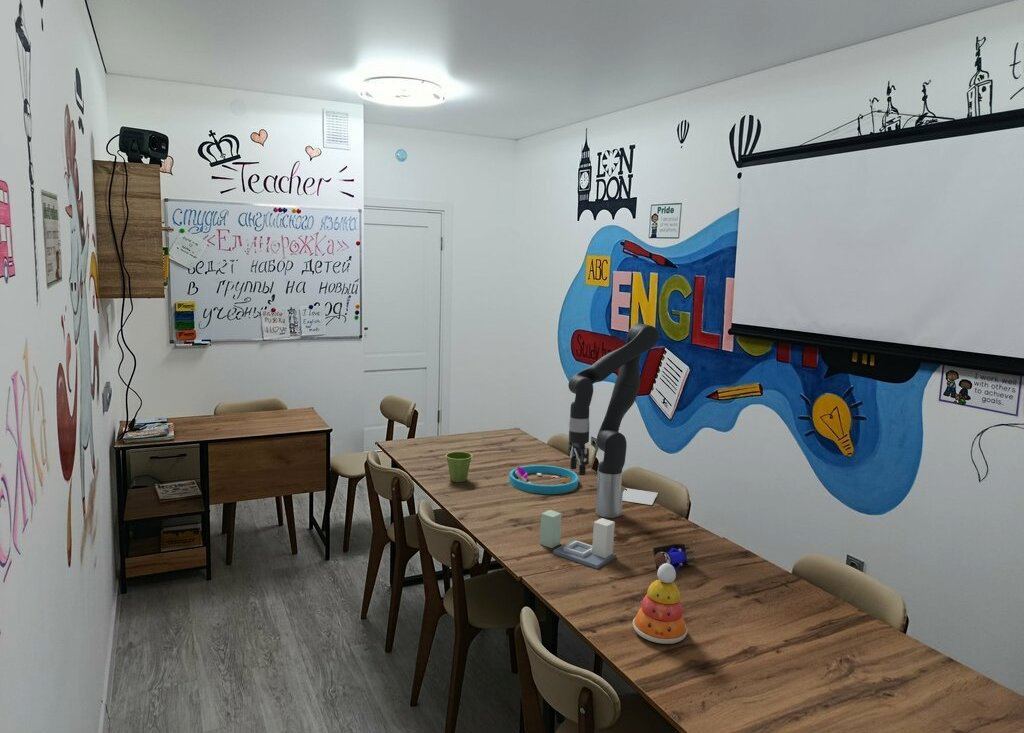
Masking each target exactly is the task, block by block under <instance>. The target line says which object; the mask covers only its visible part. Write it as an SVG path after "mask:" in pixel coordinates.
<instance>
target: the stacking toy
mask: <svg viewBox="0 0 1024 733" xmlns="http://www.w3.org/2000/svg"><path fill="white" fill-rule="evenodd" d="M674 567H675V566H674ZM674 567H673V566H672V565H670V564H668V563H665V564H663V565H661V566H660V567H659V569H657V573H656V574H657V578H658V579H655V580H654V581H653V582H651V583H650V585H649V587H648V588H647V591H646V594H645V596H644V597H643V599H642V600H641V605H640V608H639V609H638V611H637V613H636V616H635V617H634V618H633V620H632V627H633V629H634V631H635V632H636V633H637V634H638V635H639V636H640V637H641V638H643V639H645V640H647V641H650V642H653V643H656V644H663V645H664V644H665V645H667V644H668V645H669V644H676V643H678V642H679V643H680V642H681V641H682V640H684V639H685V638H686V637H687V635H688V628H687V625H686V622H685V618H684V616H683V613H684V610H683V605H682V601H681V593H680V590H679V587H678V586H677V585H676V583H674V581H675V580H676V577H677V573H676V570H675V569H674Z"/></svg>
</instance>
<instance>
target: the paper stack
mask: <svg viewBox="0 0 1024 733" xmlns="http://www.w3.org/2000/svg"><path fill="white" fill-rule="evenodd" d="M625 489H627V491H626V490H625ZM625 489H624V490H623V499H622V502H630V503H636V504H642V505H650V506H652V505H653V504H654V502H655V499H656V498H657V496H658V495H659V492H655V491H649V490H641V489H635V488H628V487H626V488H625Z"/></svg>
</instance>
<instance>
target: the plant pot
mask: <svg viewBox="0 0 1024 733" xmlns="http://www.w3.org/2000/svg"><path fill="white" fill-rule="evenodd" d="M445 458H446V462H447V466H448V473H449V478H450V479H449V480H450V481H451V482H454V483H461V482H463V483H464V482H467V481H468V477H469V476H468V474H469V470H470V464H471V462H472V458H473V454H472V453H470V452H468V451H467V452H466V451H451V452H447V453H446V454H445Z"/></svg>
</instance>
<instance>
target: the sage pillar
mask: <svg viewBox="0 0 1024 733" xmlns="http://www.w3.org/2000/svg"><path fill="white" fill-rule="evenodd" d="M562 516H563V515H562V513H561V512H558V511H556V510H555V511H554V510H551V509H548V510H546V511H544V512H542V513H541V514H540V530H539V532H540V535H539V545H541V546H543V547H546V548H549V549H550V548H551V549H553V548H555V547H556V546H559V545H560V544H561V529H562Z"/></svg>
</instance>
